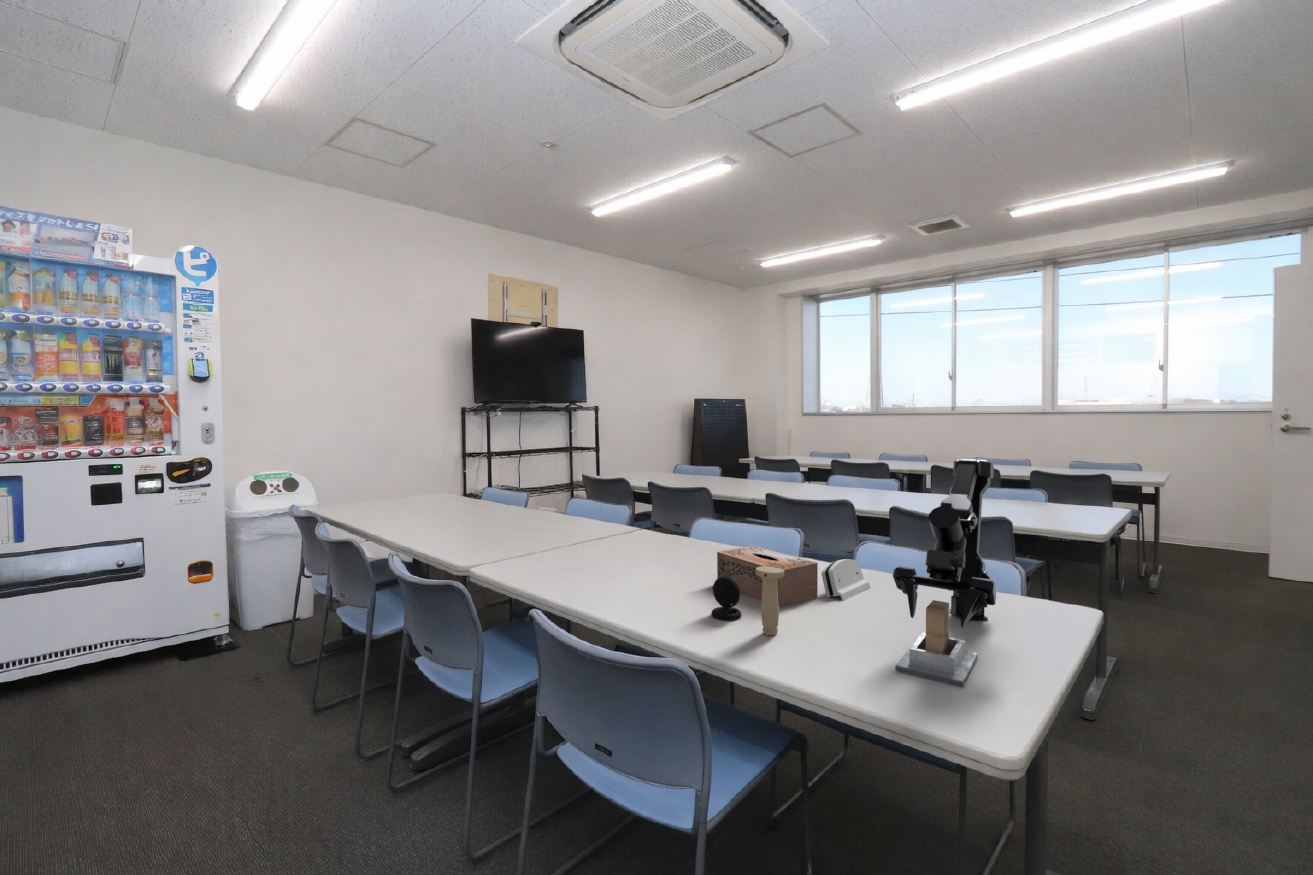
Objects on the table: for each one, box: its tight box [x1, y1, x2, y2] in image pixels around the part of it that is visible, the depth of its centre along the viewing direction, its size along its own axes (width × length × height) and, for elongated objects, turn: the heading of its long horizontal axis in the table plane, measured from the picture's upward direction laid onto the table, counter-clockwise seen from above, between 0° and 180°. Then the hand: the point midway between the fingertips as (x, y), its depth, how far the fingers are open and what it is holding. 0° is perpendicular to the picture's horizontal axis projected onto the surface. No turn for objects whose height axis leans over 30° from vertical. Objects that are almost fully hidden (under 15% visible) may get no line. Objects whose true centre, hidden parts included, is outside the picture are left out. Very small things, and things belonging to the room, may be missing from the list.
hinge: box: [821, 558, 872, 602], centre depth 166 cm, size 17×5×10 cm, turn 134°
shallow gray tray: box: [894, 631, 979, 688], centre depth 118 cm, size 16×12×4 cm
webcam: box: [711, 576, 742, 622], centre depth 147 cm, size 8×8×10 cm
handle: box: [756, 566, 784, 637], centre depth 134 cm, size 5×6×15 cm
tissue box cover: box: [716, 545, 819, 609], centre depth 167 cm, size 26×14×10 cm, turn 33°
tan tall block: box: [925, 599, 950, 655], centre depth 118 cm, size 6×3×11 cm, turn 142°
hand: (936, 621), depth 116 cm, fingers open, 9 cm apart
